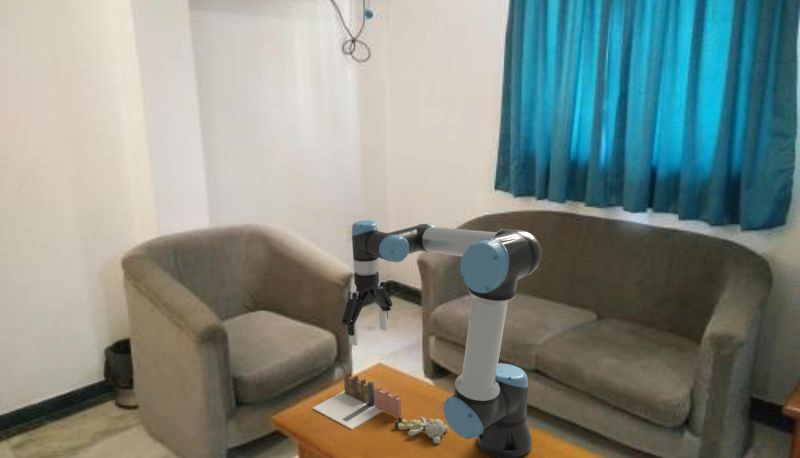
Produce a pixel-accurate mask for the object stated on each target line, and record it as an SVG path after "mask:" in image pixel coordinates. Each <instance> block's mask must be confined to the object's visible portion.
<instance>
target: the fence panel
mask: <svg viewBox="0 0 800 458" xmlns="http://www.w3.org/2000/svg"><path fill="white" fill-rule="evenodd" d="M382 389H383V388H382V386H381V385H379V386H376V388H374V392H375V407H377V408H379V409H381V410H384V411H383V412H386V413H388V414H390V415H392V416H394V417H396V418H399V417H402V400H401V397H399V393H396V392H395V394H392V393H391V390H390V389H387V390H382Z"/></svg>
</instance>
